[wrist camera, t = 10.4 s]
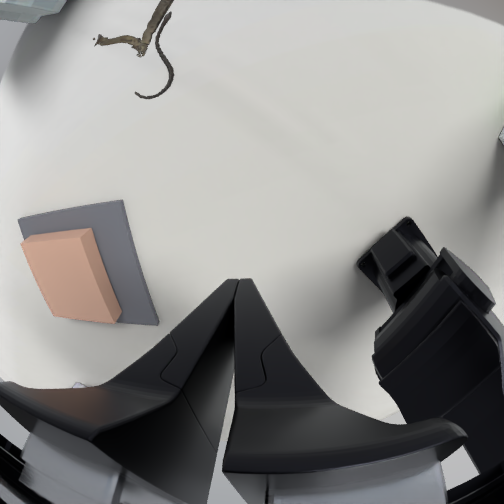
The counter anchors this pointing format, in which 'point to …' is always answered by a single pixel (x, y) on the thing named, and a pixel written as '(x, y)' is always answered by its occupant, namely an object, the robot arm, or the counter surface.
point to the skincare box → (502, 136)
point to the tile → (72, 275)
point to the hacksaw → (147, 40)
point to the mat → (105, 252)
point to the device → (28, 9)
